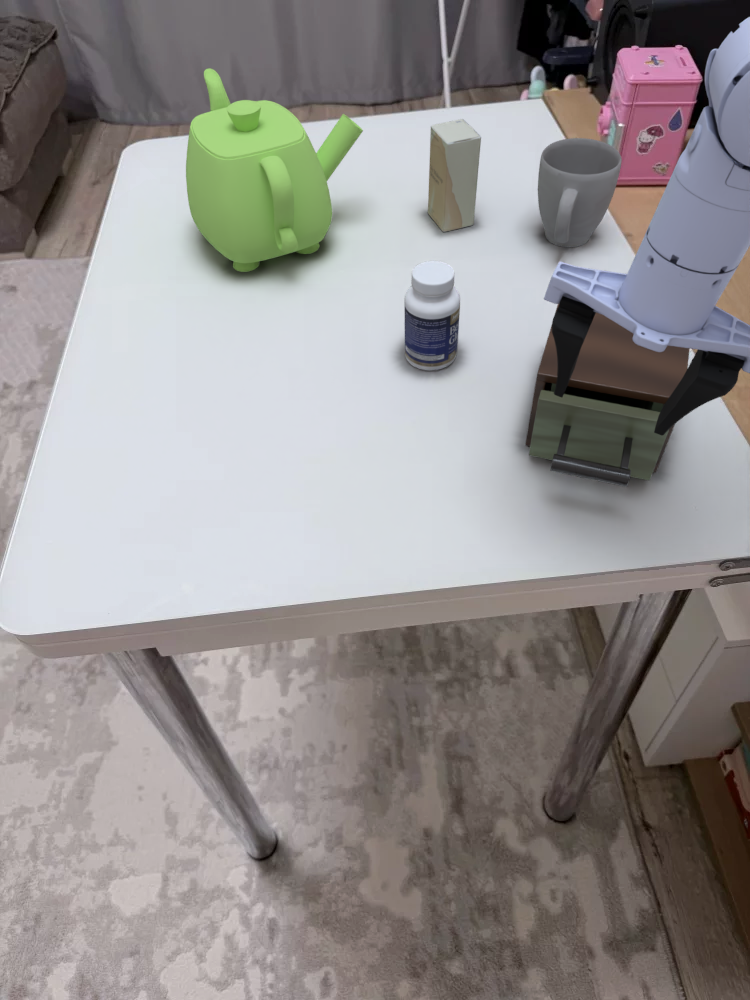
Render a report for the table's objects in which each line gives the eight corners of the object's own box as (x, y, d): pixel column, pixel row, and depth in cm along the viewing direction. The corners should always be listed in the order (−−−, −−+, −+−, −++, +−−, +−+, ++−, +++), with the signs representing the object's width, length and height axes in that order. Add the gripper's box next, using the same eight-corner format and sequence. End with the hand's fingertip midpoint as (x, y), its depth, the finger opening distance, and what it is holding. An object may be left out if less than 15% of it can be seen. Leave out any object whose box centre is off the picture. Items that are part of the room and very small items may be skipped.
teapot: (403, 253, 88) (402, 115, 76) (231, 305, 83) (200, 166, 71) (322, 165, 103) (310, 37, 91) (171, 204, 98) (137, 74, 85)
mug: (539, 211, 93) (550, 133, 86) (610, 222, 91) (628, 142, 83) (516, 263, 86) (526, 183, 79) (593, 276, 84) (610, 195, 76)
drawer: (643, 524, 60) (666, 469, 55) (517, 496, 63) (526, 440, 57) (662, 386, 71) (682, 328, 65) (553, 366, 73) (564, 308, 68)
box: (426, 213, 94) (428, 123, 85) (458, 205, 95) (462, 116, 86) (443, 234, 91) (447, 142, 82) (475, 226, 91) (482, 135, 83)
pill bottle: (458, 372, 74) (463, 288, 67) (404, 372, 75) (404, 290, 67) (455, 337, 78) (460, 255, 70) (404, 338, 78) (403, 256, 70)
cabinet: (656, 472, 65) (684, 400, 58) (524, 445, 68) (537, 373, 61) (669, 373, 73) (694, 300, 66) (551, 353, 76) (564, 280, 69)
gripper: (561, 238, 43) (502, 404, 54) (812, 324, 41) (698, 480, 51) (588, 185, 47) (529, 348, 58) (817, 260, 45) (712, 416, 55)
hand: (610, 406), depth 55 cm, fingers open, 7 cm apart
